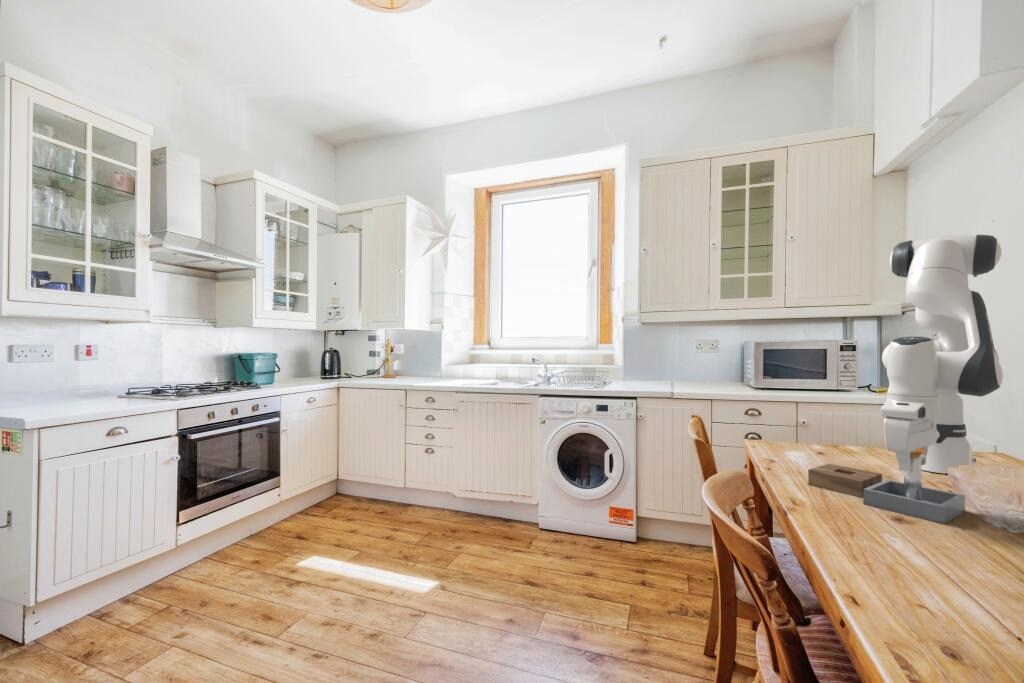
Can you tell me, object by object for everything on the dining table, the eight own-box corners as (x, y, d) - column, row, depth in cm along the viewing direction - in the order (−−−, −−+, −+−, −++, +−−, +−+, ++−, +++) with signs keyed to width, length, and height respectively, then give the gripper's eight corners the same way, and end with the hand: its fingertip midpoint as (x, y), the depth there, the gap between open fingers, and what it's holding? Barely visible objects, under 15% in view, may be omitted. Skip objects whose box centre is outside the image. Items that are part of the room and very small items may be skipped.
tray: (887, 493, 112) (887, 479, 112) (964, 510, 100) (964, 495, 100) (863, 503, 104) (863, 488, 104) (944, 524, 92) (944, 507, 92)
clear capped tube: (904, 500, 105) (903, 444, 105) (929, 505, 101) (928, 447, 102) (897, 503, 103) (896, 445, 103) (922, 509, 99) (921, 449, 99)
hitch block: (829, 477, 125) (829, 463, 125) (882, 489, 115) (882, 473, 115) (808, 484, 119) (808, 469, 119) (862, 497, 109) (862, 481, 109)
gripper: (911, 402, 111) (911, 458, 110) (877, 408, 100) (877, 470, 99) (945, 405, 105) (946, 464, 105) (914, 412, 94) (914, 477, 94)
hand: (912, 467), depth 102 cm, fingers open, 8 cm apart
